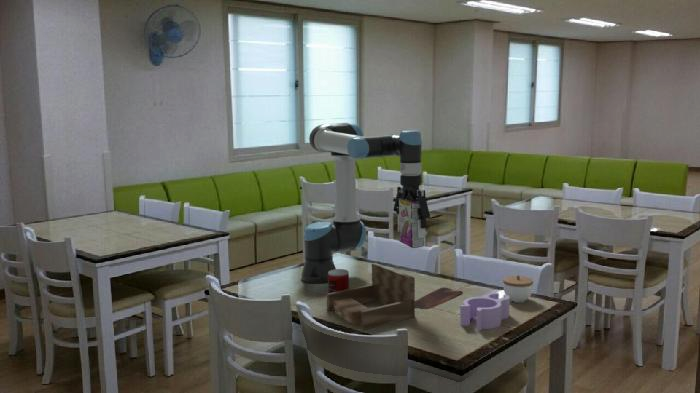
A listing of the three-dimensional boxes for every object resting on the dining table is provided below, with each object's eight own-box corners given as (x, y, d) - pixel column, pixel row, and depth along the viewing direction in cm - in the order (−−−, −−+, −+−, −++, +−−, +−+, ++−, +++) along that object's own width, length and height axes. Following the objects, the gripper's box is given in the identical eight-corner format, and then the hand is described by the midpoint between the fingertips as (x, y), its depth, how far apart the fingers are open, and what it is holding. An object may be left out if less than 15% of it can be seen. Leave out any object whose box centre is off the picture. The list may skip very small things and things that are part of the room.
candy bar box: (398, 242, 235) (398, 198, 232) (410, 240, 237) (410, 197, 234) (411, 248, 225) (411, 202, 222) (424, 247, 226) (424, 201, 224)
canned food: (351, 297, 244) (350, 269, 242) (345, 304, 237) (345, 275, 235) (332, 296, 246) (331, 268, 244) (326, 302, 239) (325, 274, 237)
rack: (327, 309, 231) (326, 272, 228) (375, 298, 242) (375, 262, 240) (363, 329, 211) (363, 288, 208) (414, 316, 222) (414, 277, 220)
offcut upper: (333, 307, 227) (333, 301, 226) (351, 304, 230) (351, 298, 229) (352, 319, 214) (352, 312, 214) (370, 316, 218) (370, 309, 217)
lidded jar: (499, 302, 235) (500, 277, 233) (506, 294, 244) (506, 270, 243) (529, 306, 230) (530, 280, 229) (535, 297, 240) (535, 273, 238)
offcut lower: (335, 314, 227) (334, 308, 227) (352, 311, 230) (352, 304, 230) (354, 326, 215) (353, 319, 215) (371, 323, 218) (371, 316, 218)
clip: (487, 309, 228) (487, 290, 227) (518, 317, 220) (518, 297, 219) (453, 323, 215) (453, 304, 213) (485, 333, 206) (485, 312, 205)
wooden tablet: (426, 308, 227) (403, 300, 233) (425, 314, 228) (403, 305, 234) (465, 290, 247) (443, 283, 253) (464, 296, 247) (442, 288, 254)
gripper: (383, 172, 235) (384, 229, 238) (422, 178, 215) (422, 241, 218) (400, 170, 239) (400, 227, 242) (440, 176, 218) (440, 238, 222)
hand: (411, 234), depth 230 cm, fingers closed on candy bar box, 12 cm apart
